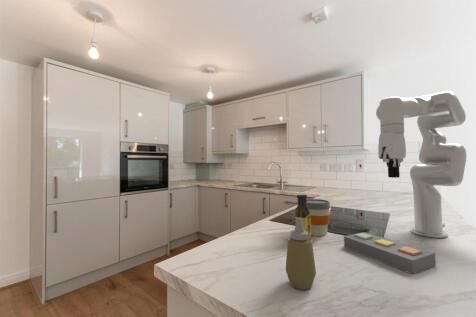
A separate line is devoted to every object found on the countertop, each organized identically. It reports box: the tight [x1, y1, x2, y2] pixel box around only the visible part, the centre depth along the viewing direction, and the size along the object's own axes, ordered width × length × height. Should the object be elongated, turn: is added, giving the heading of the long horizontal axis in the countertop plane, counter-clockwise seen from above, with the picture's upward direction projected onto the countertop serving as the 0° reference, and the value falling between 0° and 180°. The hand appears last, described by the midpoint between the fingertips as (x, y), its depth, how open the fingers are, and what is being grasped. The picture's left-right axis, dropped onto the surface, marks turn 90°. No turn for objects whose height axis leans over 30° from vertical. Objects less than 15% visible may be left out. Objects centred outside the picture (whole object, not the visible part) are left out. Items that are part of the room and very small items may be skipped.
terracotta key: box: [398, 246, 422, 256], centre depth 71 cm, size 4×4×2 cm
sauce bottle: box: [294, 193, 312, 241], centre depth 94 cm, size 7×6×20 cm
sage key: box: [355, 232, 373, 240], centre depth 85 cm, size 4×4×2 cm
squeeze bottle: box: [285, 218, 317, 291], centre depth 61 cm, size 8×8×18 cm
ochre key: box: [374, 239, 395, 247], centre depth 78 cm, size 4×4×2 cm
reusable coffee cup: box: [307, 198, 331, 237], centre depth 104 cm, size 13×13×15 cm
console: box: [343, 231, 437, 275], centre depth 78 cm, size 12×24×4 cm, turn 24°
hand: (393, 177), depth 84 cm, fingers closed
